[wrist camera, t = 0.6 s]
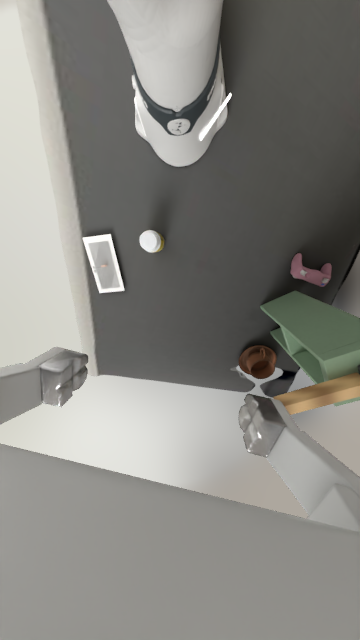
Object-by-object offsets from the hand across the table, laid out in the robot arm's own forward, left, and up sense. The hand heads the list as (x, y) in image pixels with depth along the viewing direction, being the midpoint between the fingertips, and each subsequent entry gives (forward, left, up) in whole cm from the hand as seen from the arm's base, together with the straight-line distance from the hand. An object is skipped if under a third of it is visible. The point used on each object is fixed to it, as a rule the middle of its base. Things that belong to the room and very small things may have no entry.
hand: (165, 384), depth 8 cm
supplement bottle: (-8, -8, -42) cm, 44 cm away
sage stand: (+14, +28, -42) cm, 52 cm away
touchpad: (-3, -23, -42) cm, 48 cm away
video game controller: (+1, +32, -42) cm, 53 cm away
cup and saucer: (+30, +22, -42) cm, 56 cm away
